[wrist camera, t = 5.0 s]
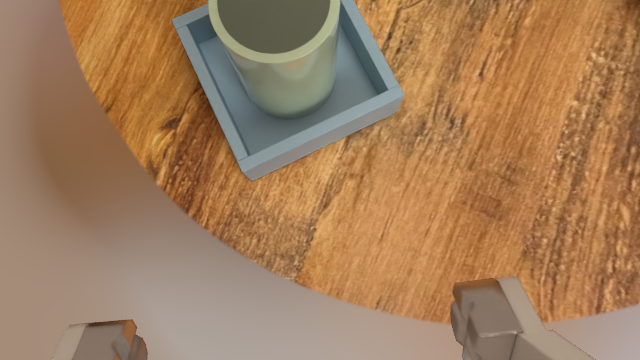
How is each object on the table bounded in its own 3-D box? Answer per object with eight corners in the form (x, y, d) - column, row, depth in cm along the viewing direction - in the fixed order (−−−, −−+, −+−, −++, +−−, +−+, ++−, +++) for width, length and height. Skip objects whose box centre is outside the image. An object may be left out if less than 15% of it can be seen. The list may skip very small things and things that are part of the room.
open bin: (396, 112, 34) (404, 95, 30) (251, 181, 34) (242, 172, 30) (326, -20, 36) (326, -52, 32) (187, 44, 35) (170, 19, 32)
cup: (352, 94, 34) (363, 27, 24) (266, 135, 33) (240, 84, 23) (311, 14, 35) (304, -82, 25) (227, 53, 34) (186, -29, 24)
